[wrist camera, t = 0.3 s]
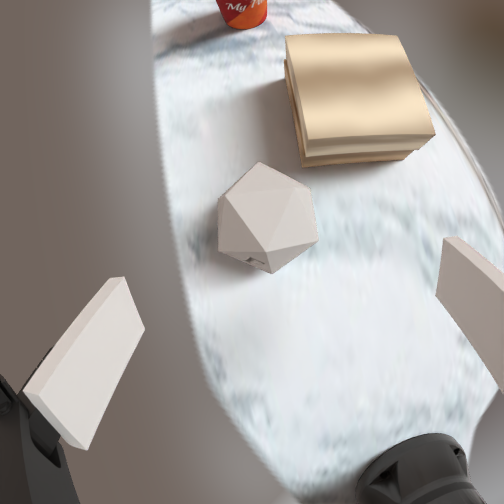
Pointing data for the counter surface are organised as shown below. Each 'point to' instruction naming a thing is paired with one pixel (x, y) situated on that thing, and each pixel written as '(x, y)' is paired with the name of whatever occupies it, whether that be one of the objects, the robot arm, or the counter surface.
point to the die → (266, 219)
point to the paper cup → (243, 12)
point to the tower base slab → (334, 158)
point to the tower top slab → (356, 94)
